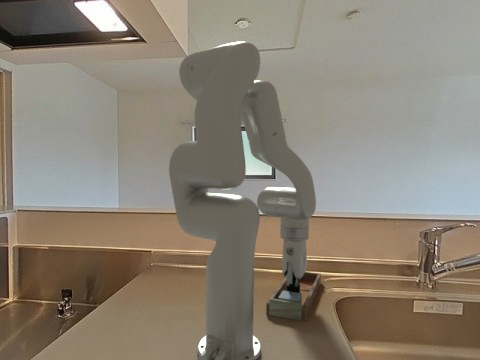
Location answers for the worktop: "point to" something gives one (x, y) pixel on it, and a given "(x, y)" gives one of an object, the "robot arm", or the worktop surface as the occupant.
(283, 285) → the open box
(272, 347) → the worktop surface
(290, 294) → the block
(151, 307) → the worktop surface
